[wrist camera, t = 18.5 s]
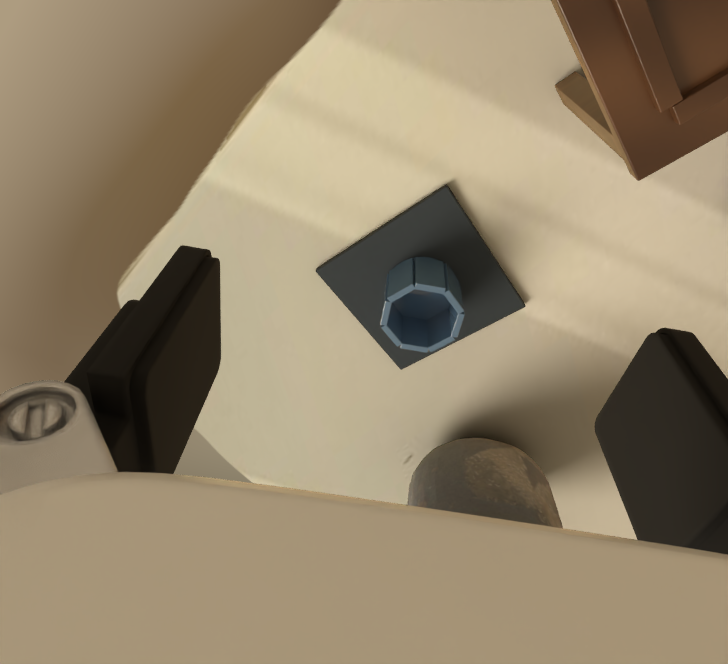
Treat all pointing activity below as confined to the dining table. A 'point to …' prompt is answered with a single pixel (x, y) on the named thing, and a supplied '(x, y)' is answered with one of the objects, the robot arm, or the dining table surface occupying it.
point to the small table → (648, 75)
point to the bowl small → (422, 305)
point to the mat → (422, 239)
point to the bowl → (484, 482)
